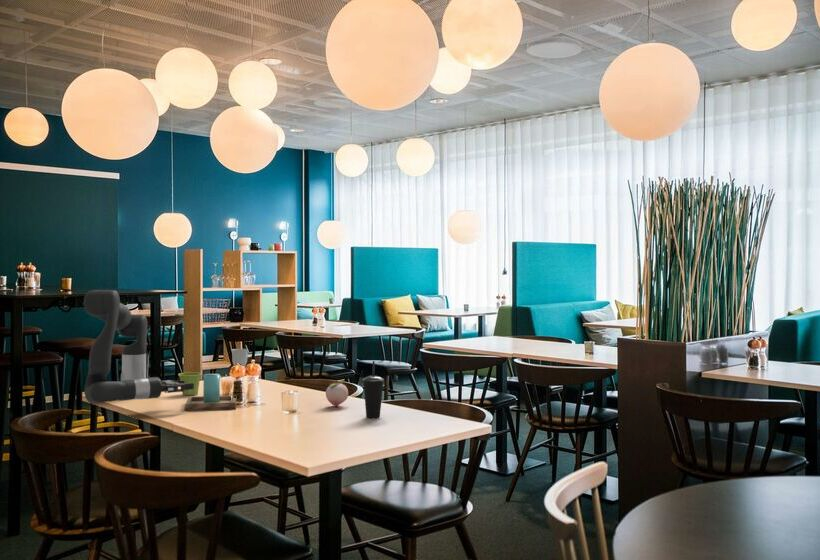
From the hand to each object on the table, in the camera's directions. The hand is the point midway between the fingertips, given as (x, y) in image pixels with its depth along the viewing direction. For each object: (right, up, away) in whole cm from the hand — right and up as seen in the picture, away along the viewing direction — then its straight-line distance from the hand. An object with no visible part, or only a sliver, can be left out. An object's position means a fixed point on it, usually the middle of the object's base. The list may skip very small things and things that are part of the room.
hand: (188, 384), depth 279 cm
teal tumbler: (+7, -8, +6) cm, 12 cm away
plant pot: (-9, -9, +32) cm, 34 cm away
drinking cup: (+69, -10, -12) cm, 71 cm away
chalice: (+10, -9, +41) cm, 43 cm away
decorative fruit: (+55, -10, +8) cm, 56 cm away
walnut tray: (+7, -9, +6) cm, 13 cm away
